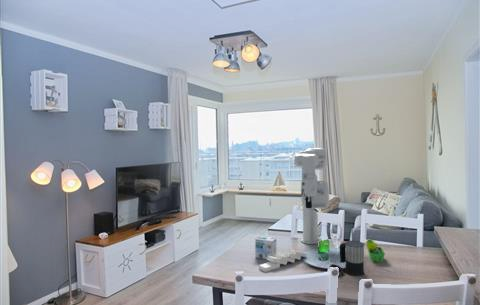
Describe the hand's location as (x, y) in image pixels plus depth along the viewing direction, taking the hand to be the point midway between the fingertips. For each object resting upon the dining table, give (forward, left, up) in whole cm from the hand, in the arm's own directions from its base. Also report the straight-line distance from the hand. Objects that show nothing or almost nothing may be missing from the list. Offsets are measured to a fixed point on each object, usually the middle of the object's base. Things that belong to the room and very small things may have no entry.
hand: (308, 207), depth 194 cm
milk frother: (+9, +30, -27) cm, 42 cm away
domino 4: (+11, 0, -26) cm, 28 cm away
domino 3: (+17, +1, -26) cm, 31 cm away
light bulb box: (+21, -14, -27) cm, 38 cm away
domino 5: (+5, 0, -26) cm, 27 cm away
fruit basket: (-20, +30, -27) cm, 45 cm away
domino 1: (+27, -1, -26) cm, 38 cm away
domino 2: (+22, 0, -26) cm, 34 cm away
